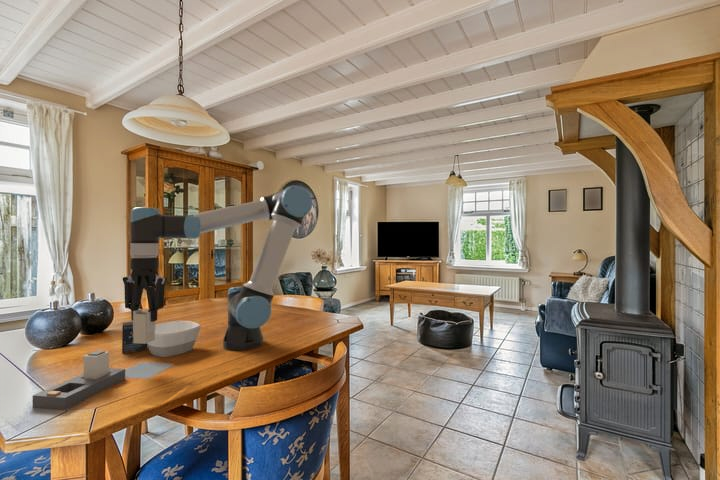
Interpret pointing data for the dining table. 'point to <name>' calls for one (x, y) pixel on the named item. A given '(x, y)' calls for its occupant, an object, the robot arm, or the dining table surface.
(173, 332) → the bowl
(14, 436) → the dining table surface
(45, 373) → the dining table surface
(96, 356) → the plug
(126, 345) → the box
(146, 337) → the twin plug
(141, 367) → the tray
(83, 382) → the grey socket block
